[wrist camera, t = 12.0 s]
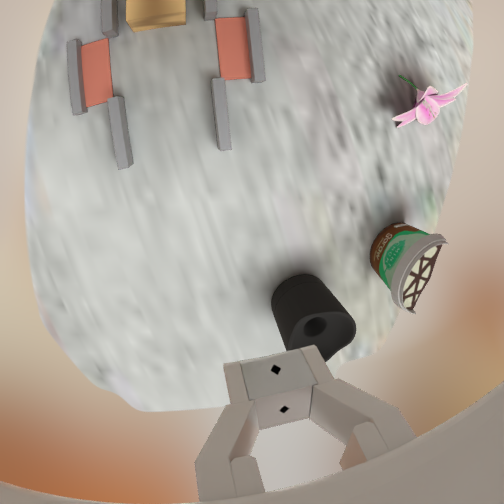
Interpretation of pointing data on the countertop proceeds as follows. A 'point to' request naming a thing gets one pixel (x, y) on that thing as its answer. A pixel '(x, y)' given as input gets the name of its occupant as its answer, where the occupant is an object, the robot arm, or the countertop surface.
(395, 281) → the food container
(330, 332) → the pen holder
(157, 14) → the honey block
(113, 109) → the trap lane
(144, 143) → the countertop surface
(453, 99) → the lily
